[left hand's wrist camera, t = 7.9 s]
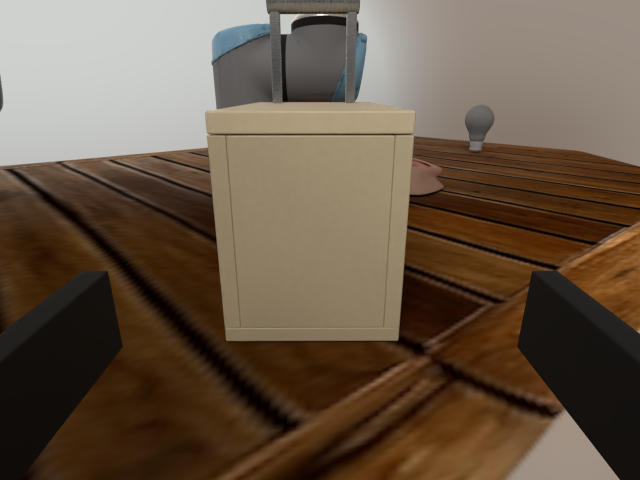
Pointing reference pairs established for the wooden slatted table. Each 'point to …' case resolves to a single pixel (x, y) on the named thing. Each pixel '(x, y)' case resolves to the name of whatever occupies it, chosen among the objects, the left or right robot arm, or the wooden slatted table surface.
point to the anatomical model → (424, 178)
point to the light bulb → (478, 125)
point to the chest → (311, 234)
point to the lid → (311, 114)
